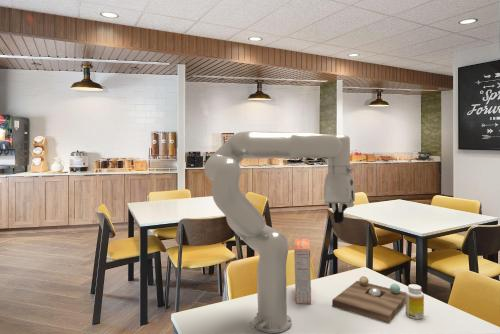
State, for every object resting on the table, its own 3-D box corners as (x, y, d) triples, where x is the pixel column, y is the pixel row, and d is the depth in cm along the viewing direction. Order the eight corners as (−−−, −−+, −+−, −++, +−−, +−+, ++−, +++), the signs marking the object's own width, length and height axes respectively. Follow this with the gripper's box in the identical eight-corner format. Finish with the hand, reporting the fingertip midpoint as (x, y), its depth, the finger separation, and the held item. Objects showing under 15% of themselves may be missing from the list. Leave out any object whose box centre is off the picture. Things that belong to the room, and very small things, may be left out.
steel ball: (383, 291, 134) (381, 303, 132) (371, 288, 137) (369, 300, 135) (380, 287, 131) (377, 299, 129) (368, 285, 134) (365, 297, 132)
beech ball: (366, 287, 138) (366, 279, 138) (357, 285, 140) (357, 277, 140) (369, 284, 141) (369, 276, 141) (361, 282, 143) (361, 274, 143)
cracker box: (295, 288, 145) (294, 238, 144) (310, 288, 144) (309, 238, 143) (294, 303, 131) (294, 248, 130) (311, 304, 131) (310, 248, 129)
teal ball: (398, 295, 131) (398, 286, 130) (388, 293, 133) (388, 284, 132) (401, 292, 133) (401, 283, 133) (391, 290, 135) (391, 281, 135)
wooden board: (388, 323, 116) (388, 316, 116) (332, 306, 129) (332, 299, 129) (408, 299, 133) (408, 293, 133) (357, 286, 146) (357, 280, 145)
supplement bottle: (427, 318, 119) (427, 288, 118) (412, 320, 117) (413, 290, 117) (416, 310, 124) (416, 282, 123) (402, 312, 123) (402, 284, 122)
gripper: (363, 170, 123) (363, 223, 124) (324, 169, 132) (324, 217, 134) (354, 172, 117) (354, 227, 118) (314, 170, 127) (314, 221, 128)
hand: (338, 222), depth 126 cm, fingers closed
